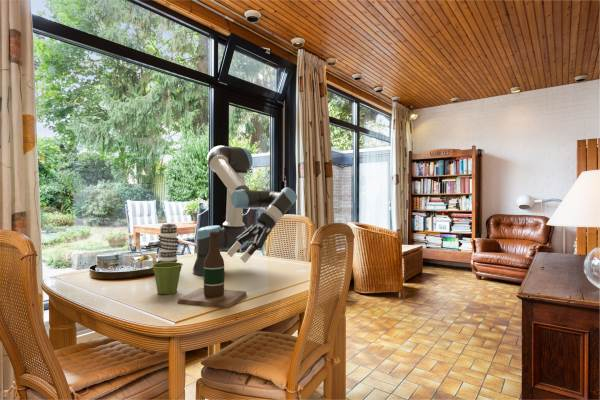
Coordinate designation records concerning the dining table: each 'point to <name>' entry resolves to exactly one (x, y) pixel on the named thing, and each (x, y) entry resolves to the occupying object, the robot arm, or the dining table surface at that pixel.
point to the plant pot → (167, 276)
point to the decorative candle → (168, 243)
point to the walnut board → (222, 301)
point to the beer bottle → (214, 269)
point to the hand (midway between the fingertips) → (235, 257)
